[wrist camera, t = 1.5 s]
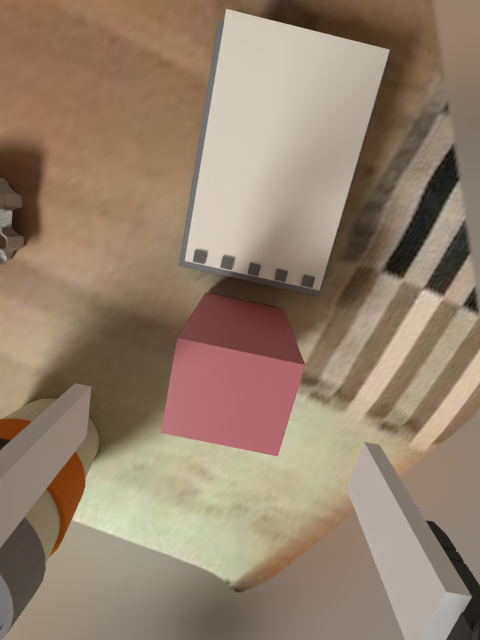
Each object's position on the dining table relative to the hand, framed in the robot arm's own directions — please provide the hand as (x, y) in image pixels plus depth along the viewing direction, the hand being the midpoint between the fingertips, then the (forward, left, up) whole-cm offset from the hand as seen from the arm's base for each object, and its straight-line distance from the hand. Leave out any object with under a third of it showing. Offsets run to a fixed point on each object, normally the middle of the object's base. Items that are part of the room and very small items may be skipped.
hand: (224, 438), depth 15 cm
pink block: (0, 0, -15) cm, 15 cm away
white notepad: (-14, 0, -15) cm, 21 cm away
